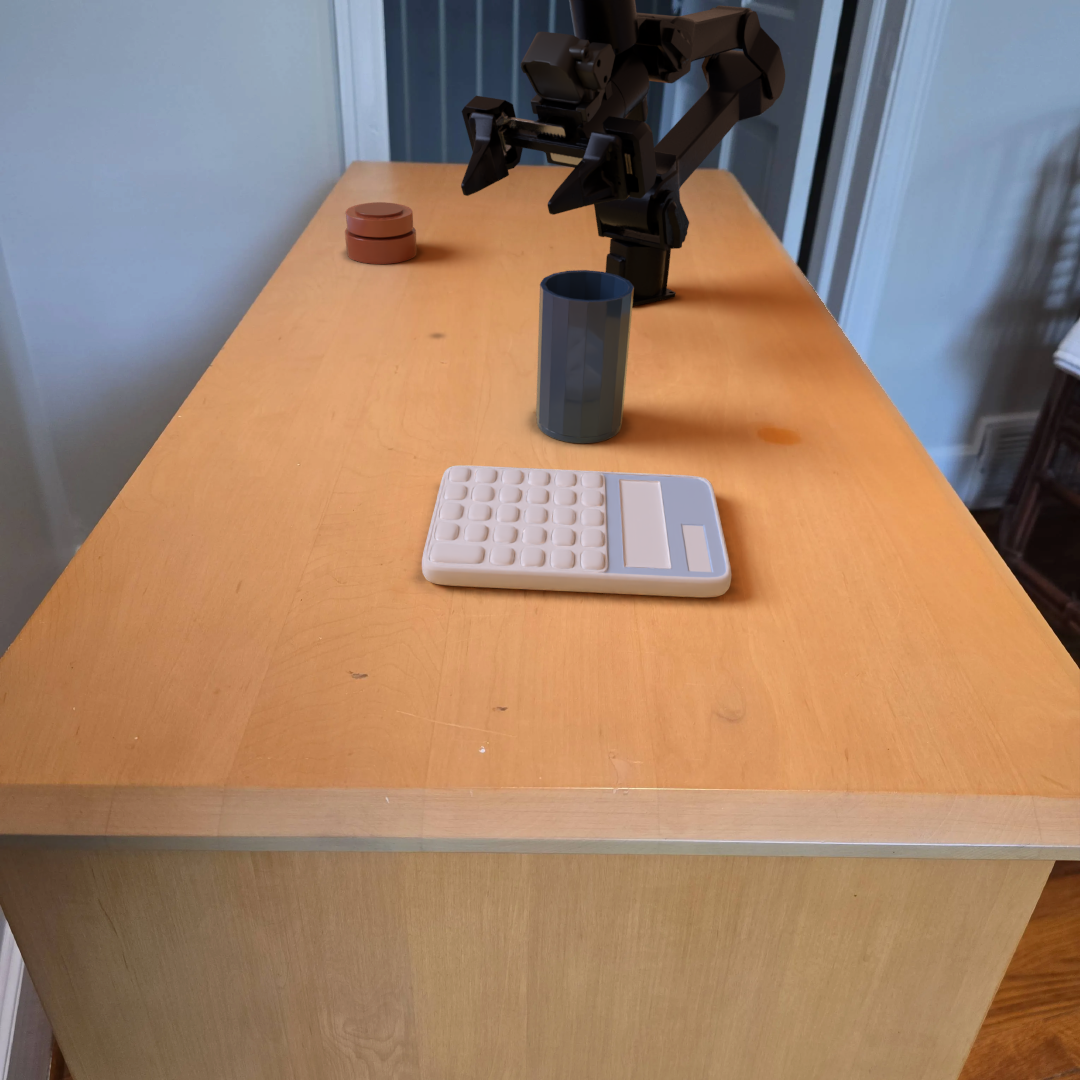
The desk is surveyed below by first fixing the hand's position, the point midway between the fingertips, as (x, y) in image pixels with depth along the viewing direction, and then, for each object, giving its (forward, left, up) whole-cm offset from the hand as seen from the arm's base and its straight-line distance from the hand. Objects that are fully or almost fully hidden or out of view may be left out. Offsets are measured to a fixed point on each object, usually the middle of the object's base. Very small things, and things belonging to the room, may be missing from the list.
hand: (505, 199), depth 80 cm
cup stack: (-4, -37, -15) cm, 40 cm away
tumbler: (+1, +13, -15) cm, 20 cm away
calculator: (+11, +27, -16) cm, 33 cm away
